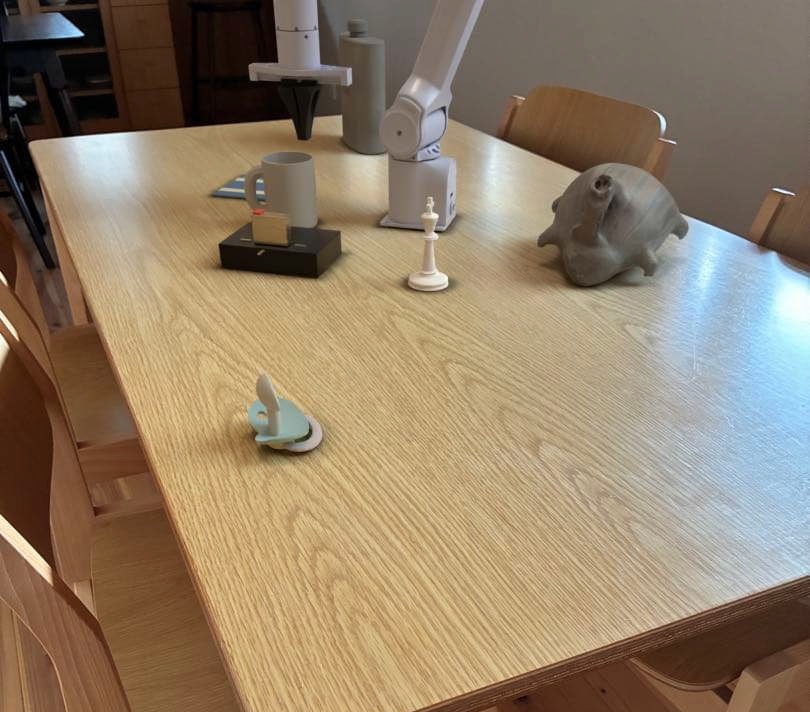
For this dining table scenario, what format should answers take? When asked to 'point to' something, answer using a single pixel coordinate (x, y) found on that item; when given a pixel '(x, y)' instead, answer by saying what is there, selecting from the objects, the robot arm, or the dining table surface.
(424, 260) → the chess piece
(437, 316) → the dining table surface
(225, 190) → the dish towel
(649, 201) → the clay animal vessel
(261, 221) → the tan flat block piece
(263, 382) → the pacifier
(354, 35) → the flask
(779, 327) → the dining table surface
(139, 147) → the dining table surface
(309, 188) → the cup
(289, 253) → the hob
